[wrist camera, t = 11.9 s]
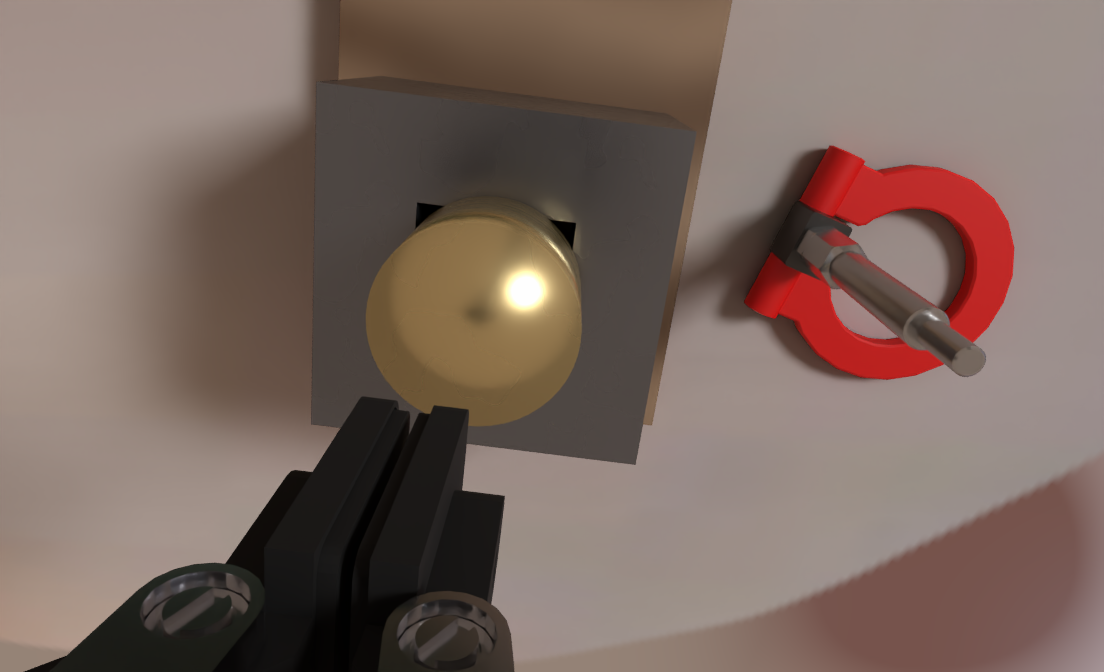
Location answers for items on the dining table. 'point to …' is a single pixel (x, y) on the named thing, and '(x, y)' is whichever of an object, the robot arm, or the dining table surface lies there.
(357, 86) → the hitch block
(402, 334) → the brass pin
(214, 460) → the dining table surface
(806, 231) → the tow hook
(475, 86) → the mount plate
